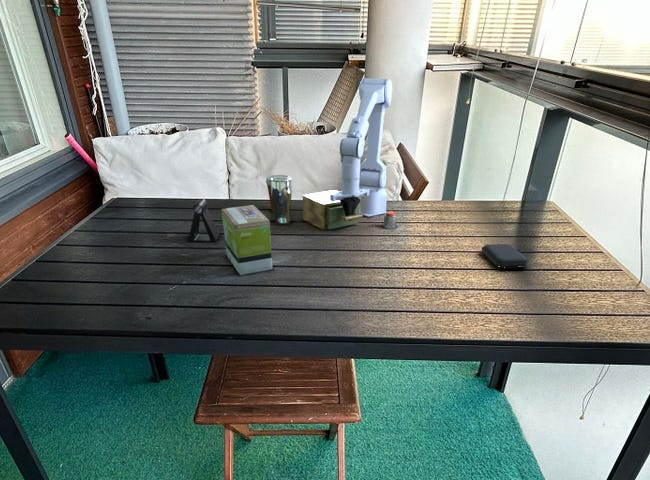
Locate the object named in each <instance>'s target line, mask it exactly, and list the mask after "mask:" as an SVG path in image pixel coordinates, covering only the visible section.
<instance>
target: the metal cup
mask: <svg viewBox="0 0 650 480" xmlns="http://www.w3.org/2000/svg"><path fill="white" fill-rule="evenodd" d="M278 176H285V177H290V176H289V175H286V174H274V175H273V174H272V175H268V176H267V177H266V180H265V183H266V187H267V191H268V197H269V203H270V209H271V211H272V212H273V213H275V209H274V204H273V200H272V192H271V182H272V178H273V177H278Z"/></svg>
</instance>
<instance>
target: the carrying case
mask: <svg viewBox="0 0 650 480" xmlns="http://www.w3.org/2000/svg"><path fill="white" fill-rule="evenodd" d="M481 252H482V253H483V255H484V256H485V257H486V258H487V259H488V260H489V261H490V262H491V263H492V265H494V266H495V267H496V268H498V269H500V270H513V269H514V270H517V269H525V268H526V267H527V265H528V266H529V264H530V262H529V259H528V258H526V257H525V256H524V255H523V254H522V253H521V252H520V249H517V248H516V247H514V246H512V245H511V244H509V243H489V244H488V243H487V244H484V246H482V247H481ZM495 264H496V265H497V266H496V265H495ZM498 266H500V267H498ZM518 266H526V267H518ZM504 267H505V268H504Z"/></svg>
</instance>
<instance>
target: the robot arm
mask: <svg viewBox="0 0 650 480" xmlns="http://www.w3.org/2000/svg"><path fill="white" fill-rule="evenodd" d="M392 82H393V81H391V78H366V77H362V78H361V80H360V82H359V85H358V96H359V100H360V102H359V106H358V110H357V113H356V116H354V117H353V118H352V119H351V122H350V124H349V127H348V130H347V132H346V135H345V136H344V138H342V139H341V140H340V143H339V156H340V164H341V163H342V164H341V190H340V191H338V192H337V193H334V194H330V201H333V202H335V201H337V200H340V202H341V204H342V206H343V209H344V213H345V217H347V216H352V215H354V213H355V210H356V208H357V206H358V204H359V203H360V212H359V214H362V215H363V217H364V216H365V217H367V218H368V217H373V216H378V215H383V214H386V212H388V211H387V203H388V202H387V200H388V193H387V190H386V188H385V187H386V184H387V166H386V164H384V162H382V161H381V159H380V158H381V151H382V142H383V141H382V140H383V131H384V122H385V113H386V109H388V108H389V107H391V103H392V96H393V83H392ZM368 120H369V121H368ZM367 134H368V135H367ZM367 136H368V137H367ZM366 137H367V145H366V146H367V147H366V157H365V160H364V161H361V158H362V157H363V154H364V150H365V143H366V140H365V139H366ZM359 197H360V198H359ZM349 221H351V220H349Z"/></svg>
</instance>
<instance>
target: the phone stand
mask: <svg viewBox="0 0 650 480" xmlns="http://www.w3.org/2000/svg"><path fill="white" fill-rule="evenodd" d="M192 211H193V217H192V222H191V225H190V231H189V236H188V240H187V241H188V242H196V243H197V242H198V243H200V242H203V243H204V242H205V243H211V242H212V243H216V242H217V240H218V238H219V237H220V232H219V229H218V228H217V226H216V224H215V221H214V220H213V217H212V214H211V213H210V211H209V208H208V203H207V200H206V199H204V198H202V200H201V198H199V199H198V200H197V201H196V202H195V203H194V205H193V206H192ZM201 220H202V223H203V225H204V228H205V231H206V232H207V233H199V231H200V223H201Z"/></svg>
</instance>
